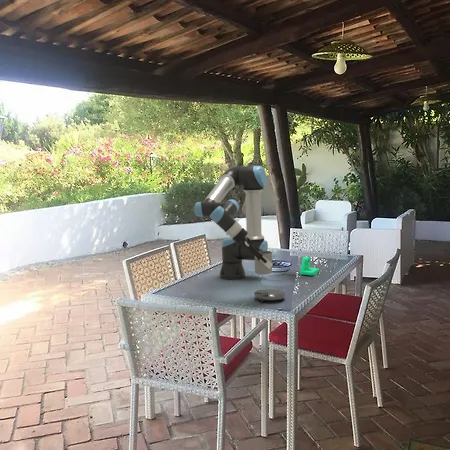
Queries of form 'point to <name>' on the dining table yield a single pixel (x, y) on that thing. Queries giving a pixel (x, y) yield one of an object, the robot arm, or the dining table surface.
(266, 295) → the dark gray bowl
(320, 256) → the dining table surface
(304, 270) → the camera mount
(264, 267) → the cup
